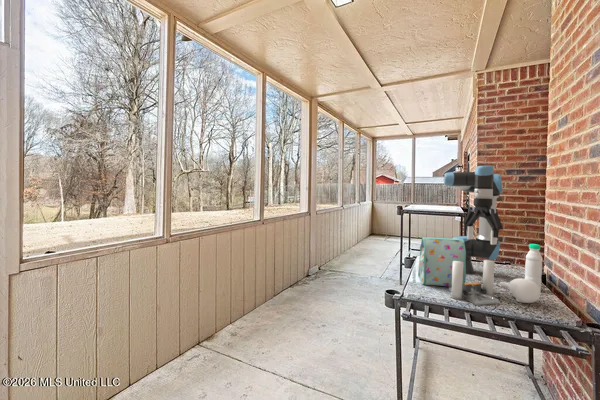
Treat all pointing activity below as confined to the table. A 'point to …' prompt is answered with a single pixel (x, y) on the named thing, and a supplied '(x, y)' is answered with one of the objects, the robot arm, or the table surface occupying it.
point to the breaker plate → (478, 297)
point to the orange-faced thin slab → (476, 287)
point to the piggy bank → (523, 290)
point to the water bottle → (534, 265)
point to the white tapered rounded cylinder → (457, 280)
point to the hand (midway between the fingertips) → (481, 241)
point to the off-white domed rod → (488, 277)
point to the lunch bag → (440, 260)
